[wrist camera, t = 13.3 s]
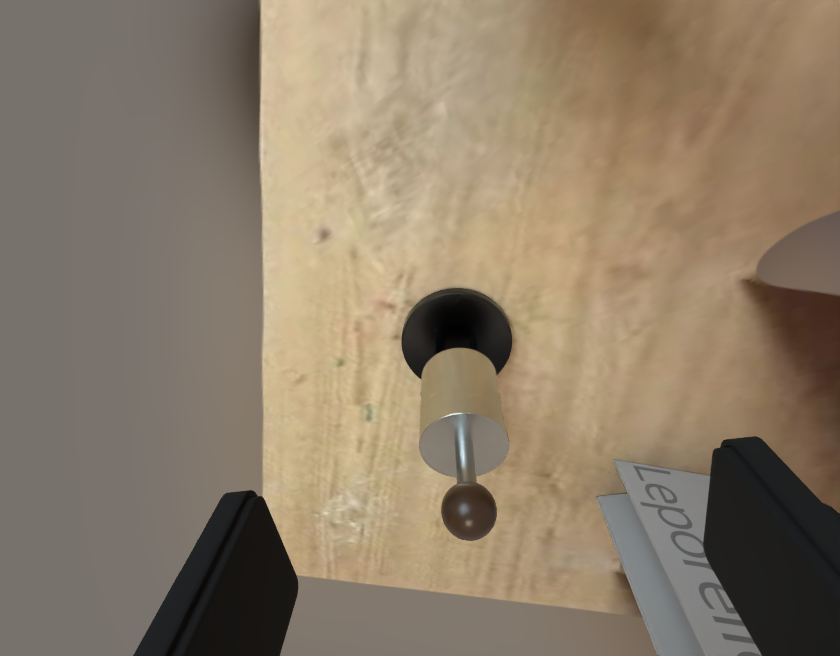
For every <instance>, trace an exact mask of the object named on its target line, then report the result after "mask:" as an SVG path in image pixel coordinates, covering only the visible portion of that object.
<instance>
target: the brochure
mask: <svg viewBox="0 0 840 656" xmlns="http://www.w3.org/2000/svg"><path fill="white" fill-rule="evenodd" d="M613 463H614V465H615V467H616V469H617V471H618V473H619V476H620V478H621V480H622V482H623V484H624V486H625V488H626V490H627V492H628V493H626V494H616V495H606V496H598V497H597V498H596V499H597V502H598V504H599V507H600V509H601V512H602V515H603V517H604V520H605V522H606V525H607V527H608V530H609V532H610V535H611V538H612V540H613V543H614V545H615V548H616V550H617V553H618V555H619V558H620V561H621V563H622V566H623V568H624V571H625V573H626V576H627V579H628V581H629V584H630V586H631V589H632V591H633V594H634V596H635V599H636V602H637V604H638V607H639V609H640V612H641V614H642V617H643V619H644V622H645V625H646V627H647V630H648V632H649V635H650V637H651V640H652V643H653V645H654V647H655V650H656V653H657V655H658V656H762V655H761V653H760V651H759V650H758V648H757V646H756V645H755V643H754V641H753V639H752V638H751V636H750V634H749V632H748V631H747V629H746V627H745V625H744V624H743V622H742V620H741V618H740V617H739V615H738V613H737V611H736V610H735V608H734V606H733V605H732V603H731V601H730V599H729V598H728V596H727V594H726V592H725V591H724V589H723V587H722V585H721V584H720V582H719V580H718V578H717V577H716V575H715V573H714V571H713V570H712V568H711V566H710V565H709V563H708V561H707V558H706V556H705V552H704V547H703V539H704V530H705V520H706V511H707V502H708V492H709V483H710V476H708V475H702V474H696V473H690V472H685V471H679V470H673V469H667V468H661V467H655V466H649V465H643V464H637V463H631V462H625V461H619V460H613Z"/></svg>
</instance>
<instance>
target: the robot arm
mask: <svg viewBox="0 0 840 656" xmlns="http://www.w3.org/2000/svg"><path fill="white" fill-rule="evenodd" d="M703 547H704V552H705V556H706V558H707V561H708V563H709V565H710V566H711V568H712V570H713V571H714V573H715V575H716V577H717V578H718V580H719V582H720V584H721V585H722V587H723V589H724V591H725V592H726V594H727V596H728V598H729V599H730V601H731V603H732V605H733V606H734V608H735V610H736V611H737V613H738V615H739V617H740V618H741V620H742V622H743V624H744V625H745V627H746V629H747V631H748V632H749V634H750V636H751V638H752V639H753V641H754V643H755V645H756V646H757V648H758V650H759V651H760V653H761V655H762V656H840V514H839V513H838V512H837V511H836V510H834V509H833V508H832V507H830V506H828V505H826V504H824V503H822V502H821V501H820V500H819V499H818V498H817V497H816V496H815V495H814V494H813V493H812V492H811V491H810V490H809V489H808V488H807V486H806V485H805V484H804V483H803V482H802V481H801V480H800V479H799V478H798V477H797V476H796V475H795V474H794V473H793V472H792V471H791V469H790V468H789V467H788V466H787V465H786V464H785V463H784V462H783V461H782V460H781V459H780V458H779V457H778V456H777V455H776V454H775V452H774V451H773V450H772V449H771V448H770V447H769V446H768V445H767V444H766V443H765V442H764V441H763V440H762V439H761V438H759V437H756V436H754V437H745V438H736V439H727V440H723V442H722V443H721V447H720V448H716V449H714V451H713V455H712V464H711V474H710V483H709V492H708V502H707V511H706V520H705V530H704V539H703ZM297 593H298V579H297V576H296V573H295V571H294V569H293V566H292V564H291V561H290V559H289V557H288V554H287V552H286V550H285V547H284V545H283V542H282V540H281V538H280V535H279V533H278V531H277V528H276V526H275V523H274V521H273V519H272V516H271V514H270V512H269V509H268V507H267V504H266V502H265V500H264V498H263V497H262V496H257V494H256V493H255V492H254V491H252V490H250V491H240V492H231V493H226V494H224V495H223V497H222V498H221V500H220V501H219V503H218V505H217V507H216V509H215V511H214V512H213V514H212V516H211V518H210V519H209V521H208V523H207V525H206V527H205V528H204V530H203V532H202V534H201V536H200V537H199V539H198V541H197V543H196V545H195V547H194V548H193V550H192V552H191V554H190V556H189V557H188V559H187V561H186V563H185V564H184V566H183V568H182V570H181V571H180V573H179V574H178V577H177V578H176V580H175V582H174V583H173V585H172V587H171V589H170V591H169V592H168V594H167V596H166V598H165V600H164V601H163V603H162V605H161V607H160V609H159V611H158V612H157V614H156V616H155V618H154V619H153V621H152V623H151V625H150V627H149V629H148V630H147V632H146V634H145V636H144V638H143V639H142V641H141V643H140V645H139V646H138V648H137V650H136V652H135V654H134V655H133V656H280V653H281V649H282V646H283V642H284V639H285V635H286V631H287V629H288V625H289V622H290V618H291V615H292V611H293V608H294V605H295V601H296V598H297Z"/></svg>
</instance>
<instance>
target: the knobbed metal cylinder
mask: <svg viewBox="0 0 840 656" xmlns="http://www.w3.org/2000/svg"><path fill="white" fill-rule="evenodd" d="M419 449H420V453H421V456H422V458H423V460H424V461H425V462H426V464H428V465H429V466H430V467H431V468H432V469H433V470H435V471H437V472H439V473H441V474H444V475H447V476H451V477H457V484H456V485H454V486H453V487H451V488H450V489H449V490H448V491H447V493H446V494H445V496H444V498H443V501H442V506H441V514H442V519H443V522H444V524H445V526H446V527H447V529H448V530H449V531H450V532H451V533H452V534H453V535H454V536H456V537H457V538H459V539H462V540H467V541H473V540H478V539H480V538H482V537H484V536H486V535H487V534H488V533H489V532H490V531H491V529H492V528H493V526H494V524H495V521H496V517H497V507H496V503H495V500H494V498H493V496H492V494H491V493H490V492H489V491H488V490H487V489H486V488H485V487H484V486H482V485H480V484H478V483H477V482H476V476H480V475H483V474H486V473H488V472H490V471H492V470H493V469H495V468H496V467H497V466H499V465H500V464H501V463H502V461H503V460H504V459H505V457H506V455H507V453H508V450H509V439H508V433H507V428H506V423H505V417H504V412H503V407H502V401H501V396H500V391H499V386H498V380H497V375H496V370H495V368H494V366H493V364H492V362H491V361H490V360H489V359H488V358H487V357H486V356H485V355H483V354H482V353H480V352H478V351H475V350H472V349H467V348H452V349H448V350H444V351H442V352H440V353H438V354H436V355H435V356H433V357H432V358H431V359H430V360H429V361H428V362H427V364H426V365H425V367H424V369H423V372H422V379H421V409H420V438H419Z"/></svg>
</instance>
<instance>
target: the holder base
mask: <svg viewBox="0 0 840 656" xmlns="http://www.w3.org/2000/svg"><path fill="white" fill-rule="evenodd" d="M511 347H512V334H511V329H510V326H509V323H508V320H507V318H506V316H505V314H504V312H503V311H502V309H501V308H500V307H499V306H498V305H497V304H496V303H495V302H494V301H493V300H492V299H490V298H489V297H487V296H485V295H484V294H481V293H479V292H476V291H473V290H469V289H461V288H453V289H446V290H441V291H438V292H435V293H433V294H431V295H429V296H427V297H425V298H424V299H422V300H421V301H420V302H419V303H418V304H417V305H416V306H415V307H414V308H413V309H412V310H411V312H410V313H409V315H408V317H407V319H406V321H405V324H404V328H403V334H402V351H403V354H404V358H405V360H406V362H407V364H408V365H409V367H410V369H411V370H412V371H413V372H414V373H415V374H416V375H417V376H418V377H419V378H420V379H422V372H423V369H424V367H425V365H426V364H427V362H428V361H429V360H430V359H431V358H432V357H433V356H435V355H436V354H438V353H440V352H442V351H444V350H448V349H452V348H467V349H472V350H475V351H478V352H480V353H482V354H483V355H485V356H486V357H487V358H488V359H489V360H490V361H491V362H492V364H493V366H494V368H495V370H496V375H497V374H498V373H499V372H500V371H501V370H502V368H503V367H504V366H505V364H506V362H507V360H508V358H509V356H510V352H511Z"/></svg>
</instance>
